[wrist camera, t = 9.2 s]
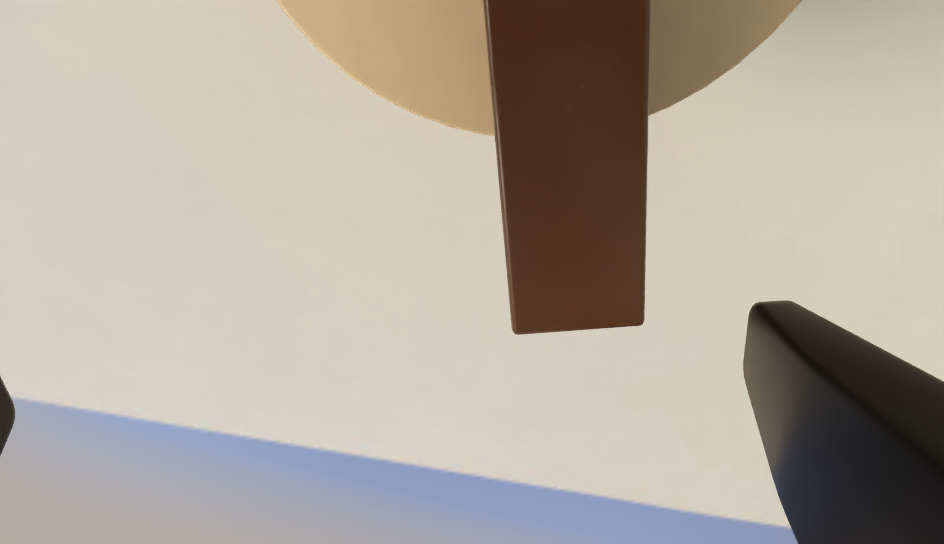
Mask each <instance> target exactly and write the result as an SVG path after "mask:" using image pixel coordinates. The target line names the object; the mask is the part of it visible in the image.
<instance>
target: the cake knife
mask: <svg viewBox="0 0 944 544" xmlns="http://www.w3.org/2000/svg"><path fill="white" fill-rule="evenodd" d="M483 5H484V16H485V28H486V39H487V51H488V62H489V73H490V85H491V96H492V107H493V119H494V130H495V141H496V153H497V164H498V176H499V187H500V198H501V210H502V221H503V232H504V244H505V255H506V266H507V278H508V289H509V301H510V312H511V323H512V330H513V332H514V333H515V334H518V335H519V334H532V333H546V332H559V331H573V330H586V329H600V328H613V327H626V326H639V325H642V324H643V322H644V310H645V258H646V206H647V154H648V102H649V50H650V0H483Z"/></svg>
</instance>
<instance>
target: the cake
mask: <svg viewBox="0 0 944 544" xmlns="http://www.w3.org/2000/svg"><path fill="white" fill-rule="evenodd" d="M801 1H802V0H650V50H649V102H648V115H651V114H653V113H656V112H658V111H660V110H663V109H665V108H668V107H670V106H672V105H674V104H675V103H677V102H679V101H681V100H683V99H685V98H686V97H688V96H690V95H692V94H694V93H695V92H697V91H699V90H701V89H703V88H704V87H706V86H707V85H709V84H710V83H712V82H713V81H714V80H716V79H717V78H719V77H720V76H721V75H723V74H724V73H726V72H727V71H728V70H730V69H731V68H733V67H734V66H736V65H737V64H738V63H740V62H741V61H742V60H743V59H744V58H745V57H746V56H748V55H749V54H750V53H751V52H752V51H753V50H754V49H755V48H756V47H758V46H759V45H760V44H761V43H762V42H763V41H764V40H765V39H767V38H768V37H769V36H770V35H771V34H772V33H773V32H774V31H775V30H776V29H777V28H778V26H779V25H780V24H781V23H782V22H783V21H784V20H785V19H786V18H787V17H788V15H789V14H790V13H791V12H792V11H793V10H794V9H795V8H796V7H797V5H798V4H799V3H800V2H801ZM277 2H278V3H279V4H280V6H281V7H282V9H283V10H284V11H285V13H286V14H287V16H288V17H289V18H290V19H291V20H292V21H293V22H294V23H295V24H296V25H297V27H298V28H299V29H300V30H301V31H302V32H303V33H304V34H305V35H306V36H307V38H308V39H309V40H310V41H311V42H312V43H313V44H314V45H315V46H316V47H317V48H318V49H319V50H320V51H321V52H322V53H323V54H325V55H326V56H327V57H328V58H329V59H330V60H332V61H333V62H334V63H335V64H336V65H337V66H338V67H340V68H341V69H342V70H343V71H344V72H345V73H346V74H348V75H349V76H351V77H352V78H354V79H355V80H357V81H358V82H360V83H361V84H363V85H364V86H365V87H367V88H368V89H370V90H371V91H373V92H374V93H376V94H377V95H379V96H380V97H382V98H384V99H386V100H388V101H390V102H392V103H394V104H396V105H398V106H400V107H402V108H404V109H406V110H408V111H410V112H412V113H414V114H416V115H419V116H422V117H424V118H427V119H430V120H433V121H435V122H438V123H441V124H444V125H446V126H449V127H453V128H458V129H462V130H467V131H471V132H475V133H480V134H484V135H493V136H495V130H494V119H493V107H492V96H491V85H490V73H489V62H488V51H487V39H486V28H485V16H484V5H483V0H277Z"/></svg>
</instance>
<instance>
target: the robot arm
mask: <svg viewBox="0 0 944 544" xmlns="http://www.w3.org/2000/svg"><path fill="white" fill-rule="evenodd" d="M743 370H744V378H745V383H746V387H747V390H748V394H749V397H750V400H751V404H752V407H753V411H754V414H755V418H756V421H757V425H758V428H759V432H760V435H761V438H762V442H763V445H764V449H765V452H766V456H767V459H768V463H769V466H770V470H771V473H772V476H773V480H774V483H775V486H776V489H777V492H778V496H779V498H780V501H781V503H782V506H783V508H784V511H785V514H786V516H787V518H788V521H789V523H790V526H791V528H792V530H793V533H794V535H795V537H796V539H797V542H798V544H944V382H943V381H942V380H940V379H938V378H936V377H934V376H932V375H930V374H928V373H926V372H925V371H923V370H921V369H919V368H917V367H915V366H913V365H911V364H909V363H908V362H906V361H904V360H902V359H900V358H898V357H896V356H894V355H892V354H890V353H889V352H887V351H885V350H883V349H881V348H879V347H877V346H875V345H873V344H872V343H870V342H868V341H866V340H864V339H862V338H860V337H858V336H856V335H855V334H853V333H851V332H849V331H847V330H845V329H843V328H841V327H839V326H838V325H836V324H834V323H832V322H830V321H828V320H826V319H824V318H822V317H821V316H819V315H817V314H815V313H813V312H811V311H809V310H807V309H805V308H804V307H802V306H800V305H798V304H796V303H794V302H792V301H786V300H785V301H770V302H758V303H755V304H754V305H753V306H752V308H751V310H750V313H749V318H748V326H747V335H746V344H745V352H744V361H743ZM14 419H15V409H14V404H13V401H12V399H11V397H10V395H9V393H8V391H7V389H6V387H5V385H4V383H3V381H2V379H1V377H0V455H1V453H2V450H3V448H4V446H5V443H6V441H7V438H8V436H9V434H10V431H11V429H12V427H13V424H14Z"/></svg>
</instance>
